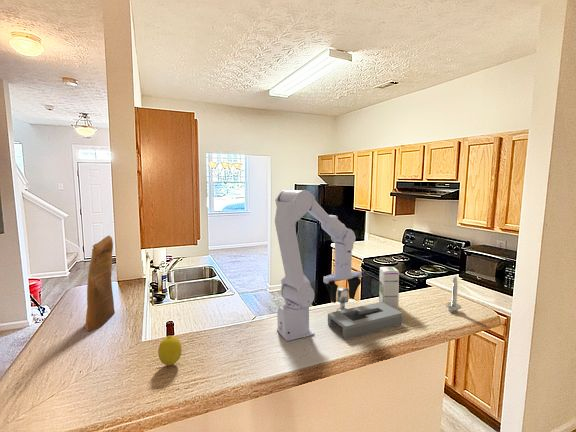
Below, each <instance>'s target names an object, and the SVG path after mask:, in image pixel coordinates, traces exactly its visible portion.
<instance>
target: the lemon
mask: <svg viewBox="0 0 576 432" xmlns="http://www.w3.org/2000/svg"><path fill="white" fill-rule="evenodd" d="M158 346H159V347H158V351H157V353H158V358H159V361H160V362H161V363H162V364H164V365H166V366H169V365H172V366H173V365H174V364H176V363H178V361H179V360H180V358H181V356H182V348H183V347H182V344H181V341H180V339H179V338H178V337H177V336H173V335H167V336H166V337H165V338H163V339H162V340H160V343H159V345H158Z"/></svg>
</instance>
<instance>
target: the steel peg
mask: <svg viewBox="0 0 576 432" xmlns="http://www.w3.org/2000/svg"><path fill="white" fill-rule="evenodd" d="M336 302H337V303H339V307H337V308H336V311H340V310H345V309H348V308H346V305H345V304H347V303H348V302H349V287H348V288H347V287H343V286H342V287H339V286H338V288H337V292H336Z"/></svg>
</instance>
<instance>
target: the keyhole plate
mask: <svg viewBox="0 0 576 432" xmlns="http://www.w3.org/2000/svg"><path fill="white" fill-rule="evenodd" d="M403 314H404V312H401V311H400V310H399V309H398V310H396V309H394V308H392V307H390V306H389V305H387V304H385V303H383V302H379V301H378V302H374V303H369V304H365V305H359V306H356V307H349V308H347V309H345V310H340V311H337V310H336V311H331V312H328V313H327V326H328V327H330V328H332V327H335V326H340V327H342V338H344V339H345V340H347V339H352V338H355V337H360V336H364V335H368V334H371V333H376V332H379V331H383V330H386V329H391V328H394V327H397V326H398V327H399V326H402V325H403Z"/></svg>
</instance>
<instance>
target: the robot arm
mask: <svg viewBox="0 0 576 432" xmlns="http://www.w3.org/2000/svg"><path fill="white" fill-rule="evenodd" d="M275 206H276V209H275V216H274V225H275V231H276V234H277V235H276V236H277V240H278V246H279V249H280V256H281V260H282V264H283V271H284V276H283V277H282V278H281V280H280V282H281V287H280V295H281V297H282V298H283V299H284V303H285V304H284V305H282V306H279V307H278V308H277V314H276V315H277V319H276V320H277V327H276V330H277V332H278V333H279V334H280V335H281V336H282V338H283V339H284V340H285V341H287V342H289V341H293V340H297V339H302V338H306V337H310V336H314V335H315V332H314V331H313V330H312V329H311V328H310V307H311V305H312V304H313V302H314V299H315V291H314V289H313V287H312V286H311V281H310V280H309V279H308V277H307V276H306V275H305V273H304V269H303V263H302V258H301V253H300V247H299V246H300V245H299V242H298V236H297V231H296V226H295V225H296V223H297V222H298V221H299V220H301V219H302V218H303V217H304V216H305V215H306V213H308V214H309V215H310V216H311V217H313V218H314V219H315V220H317V221H319V223H320V226H321V229H322V230H323V231H324V232H326V233H327V234H328V235H329V236H330V240H331V242H332V243H333V244H334V273H331V274H328V275H326V276H325V275H324V276H323V280H322V281H323V283H324V285H325V287H326V289H327V291H328V294H329V298H330V302H331V303H333V304H336V302H337V288H339V285H338V284H337V283H336V282H339V281H346V280H347V284H348V299H351V300H355V296H356V293H357V290H358V288H359V286H360V285H361V283H362V279H361V278H362V272H361V271H359V270H357V271H352V260H353V259H352V258H353V257H352V255H353V254H352V252H353V249H354V244H355V241H356V240H357V239H356V235H355V232H354V230H352V229H351V228H347V227H346V225H345V223H342V222H341V220H339V219H338V218H339V217H338V216H337V215H333V214H329V213H327V212H326V211H325V210H324V208H323V207H322V206H321V205H320V204H319V203H318V202H317V200H316V196H315V195H313V194H312V193H311V192H310V191H309V190H307V189H302V190H296V189H283V190H281V191H280V192H279V193H278V196H276V198H275Z"/></svg>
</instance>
